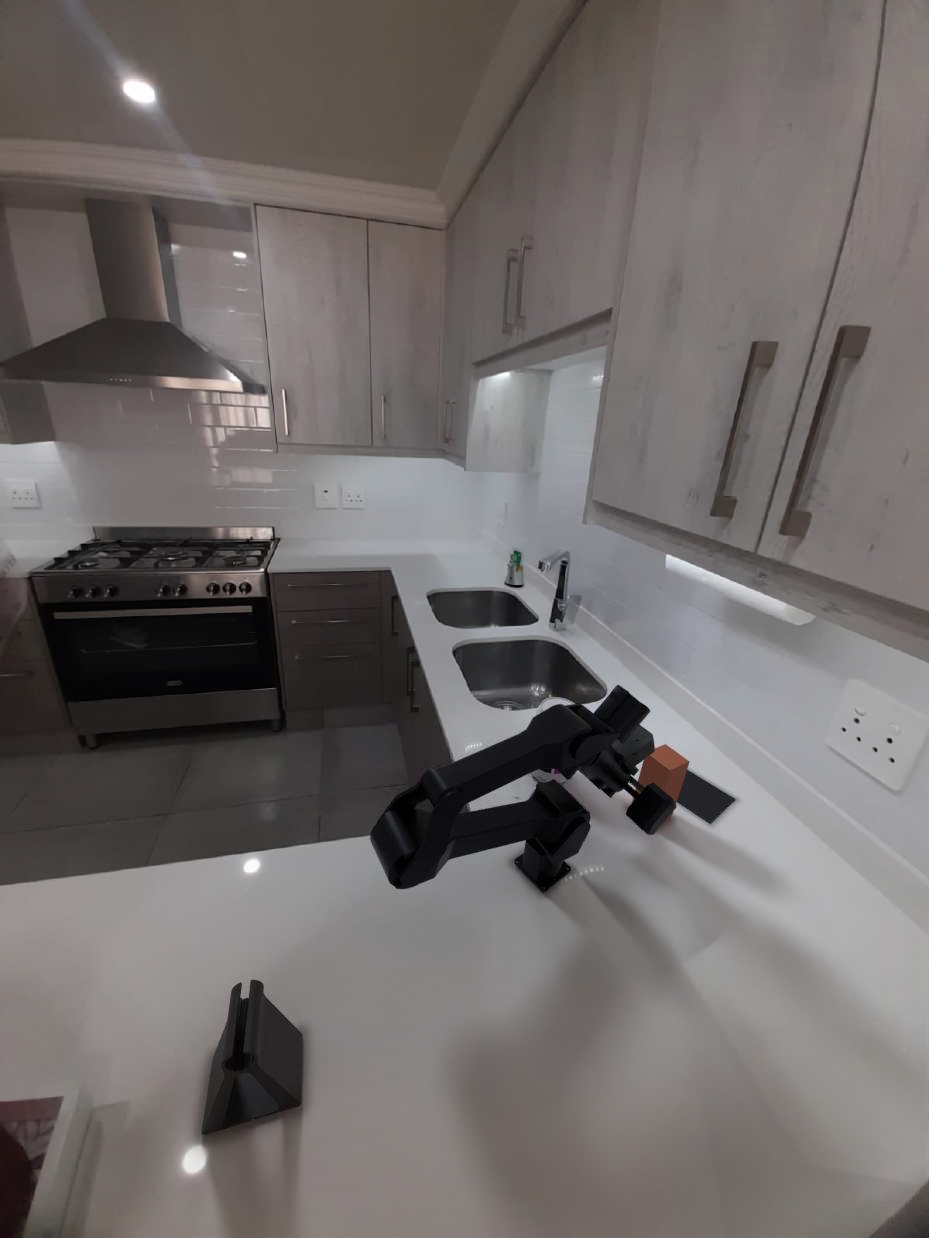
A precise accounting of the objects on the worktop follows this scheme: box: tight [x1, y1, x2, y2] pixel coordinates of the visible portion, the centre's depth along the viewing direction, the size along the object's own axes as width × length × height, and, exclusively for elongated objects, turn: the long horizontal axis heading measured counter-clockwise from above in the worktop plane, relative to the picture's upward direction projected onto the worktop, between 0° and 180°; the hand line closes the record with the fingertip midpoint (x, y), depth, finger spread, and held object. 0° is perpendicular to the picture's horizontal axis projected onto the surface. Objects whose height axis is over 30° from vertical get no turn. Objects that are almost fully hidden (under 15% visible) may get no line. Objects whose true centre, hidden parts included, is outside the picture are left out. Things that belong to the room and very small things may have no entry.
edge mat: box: [676, 769, 736, 824], centre depth 93 cm, size 10×12×1 cm
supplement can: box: [530, 696, 576, 784], centre depth 92 cm, size 8×8×15 cm
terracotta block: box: [631, 743, 690, 824], centre depth 84 cm, size 5×5×13 cm
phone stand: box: [200, 979, 303, 1136], centre depth 47 cm, size 9×6×12 cm, turn 105°
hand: (633, 793), depth 81 cm, fingers open, 9 cm apart
